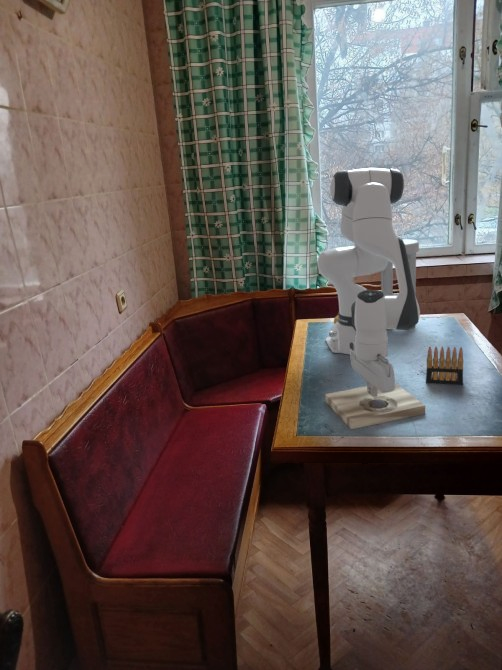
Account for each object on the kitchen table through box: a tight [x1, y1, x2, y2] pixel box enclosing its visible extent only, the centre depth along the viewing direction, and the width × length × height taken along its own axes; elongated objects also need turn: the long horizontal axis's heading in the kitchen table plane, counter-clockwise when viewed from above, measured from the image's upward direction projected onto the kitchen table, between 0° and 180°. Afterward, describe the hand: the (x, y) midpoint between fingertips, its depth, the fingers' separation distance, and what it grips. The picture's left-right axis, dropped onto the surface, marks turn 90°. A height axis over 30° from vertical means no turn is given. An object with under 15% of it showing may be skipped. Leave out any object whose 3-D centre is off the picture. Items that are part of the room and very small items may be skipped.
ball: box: [372, 399, 386, 408], centre depth 138 cm, size 4×4×4 cm
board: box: [324, 382, 426, 430], centre depth 142 cm, size 18×22×2 cm
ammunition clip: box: [425, 346, 464, 386], centre depth 151 cm, size 11×2×12 cm, turn 71°
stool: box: [380, 238, 420, 328], centre depth 205 cm, size 16×16×35 cm
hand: (372, 394), depth 142 cm, fingers closed
